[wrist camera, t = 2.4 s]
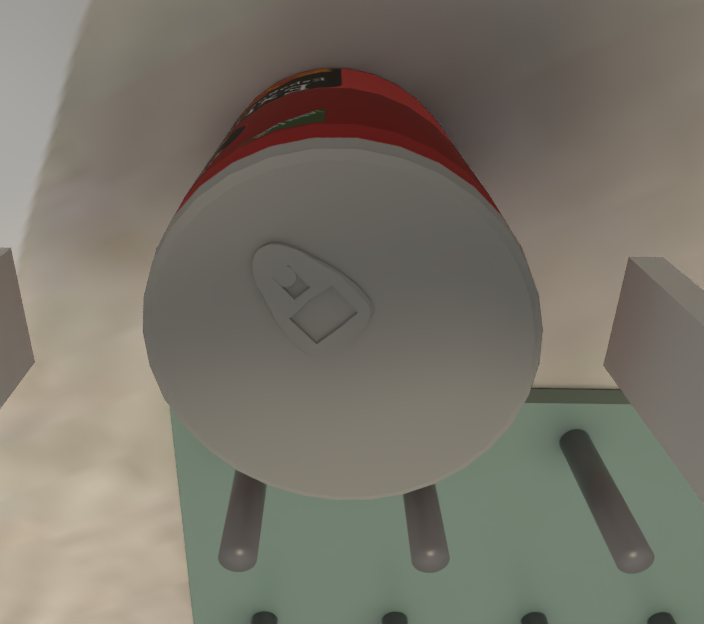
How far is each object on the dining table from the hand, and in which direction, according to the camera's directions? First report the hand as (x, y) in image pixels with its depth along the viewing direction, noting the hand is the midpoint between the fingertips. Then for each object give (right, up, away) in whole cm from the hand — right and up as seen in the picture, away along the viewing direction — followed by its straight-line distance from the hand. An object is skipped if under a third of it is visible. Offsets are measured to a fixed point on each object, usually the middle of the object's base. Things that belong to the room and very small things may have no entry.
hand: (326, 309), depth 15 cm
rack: (+6, -9, +15) cm, 19 cm away
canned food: (0, +4, +8) cm, 9 cm away
